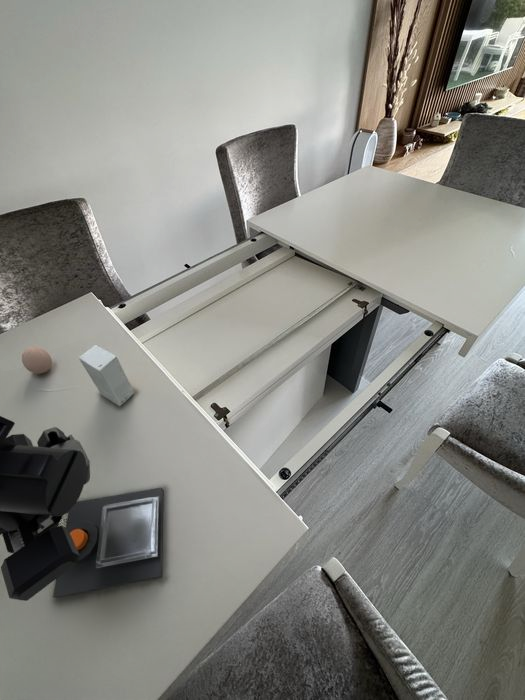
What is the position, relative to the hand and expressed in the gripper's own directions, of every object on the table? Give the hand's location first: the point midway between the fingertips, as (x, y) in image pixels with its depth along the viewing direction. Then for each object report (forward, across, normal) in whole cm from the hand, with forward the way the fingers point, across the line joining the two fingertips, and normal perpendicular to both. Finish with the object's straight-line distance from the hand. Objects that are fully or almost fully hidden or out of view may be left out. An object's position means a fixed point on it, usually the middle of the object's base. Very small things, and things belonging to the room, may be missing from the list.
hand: (54, 525), depth 46 cm
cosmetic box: (+11, +24, -16) cm, 31 cm away
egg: (+11, +40, -6) cm, 42 cm away
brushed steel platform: (+8, -4, -7) cm, 11 cm away
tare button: (+8, 0, 0) cm, 8 cm away
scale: (+11, -2, -4) cm, 12 cm away
